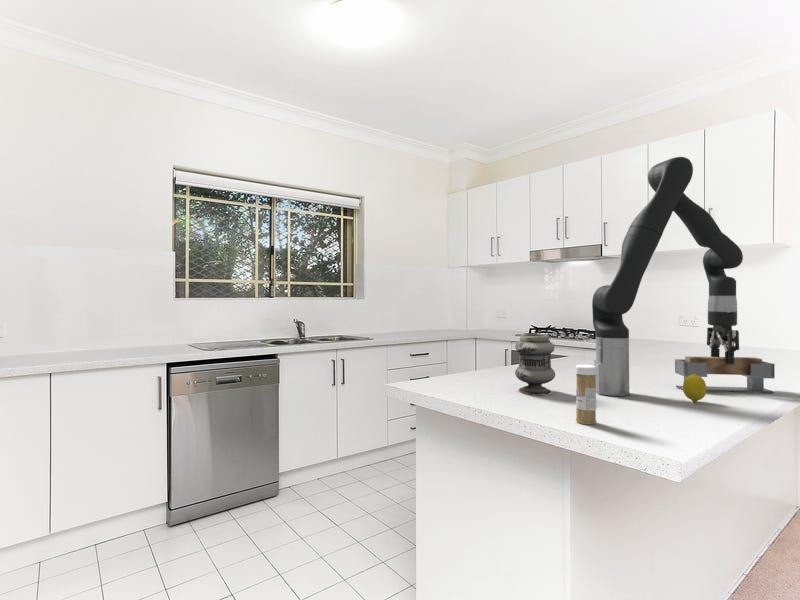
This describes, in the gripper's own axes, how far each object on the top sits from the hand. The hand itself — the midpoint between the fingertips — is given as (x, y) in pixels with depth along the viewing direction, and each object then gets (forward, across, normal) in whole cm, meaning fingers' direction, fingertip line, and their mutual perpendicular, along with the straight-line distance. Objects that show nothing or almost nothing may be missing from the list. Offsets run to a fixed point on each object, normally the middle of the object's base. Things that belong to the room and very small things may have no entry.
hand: (722, 361), depth 140 cm
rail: (+4, 0, 0) cm, 4 cm away
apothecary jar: (+10, +11, -58) cm, 60 cm away
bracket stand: (+9, 0, 0) cm, 9 cm away
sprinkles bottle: (+10, +45, -50) cm, 68 cm away
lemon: (+9, +19, -16) cm, 26 cm away
